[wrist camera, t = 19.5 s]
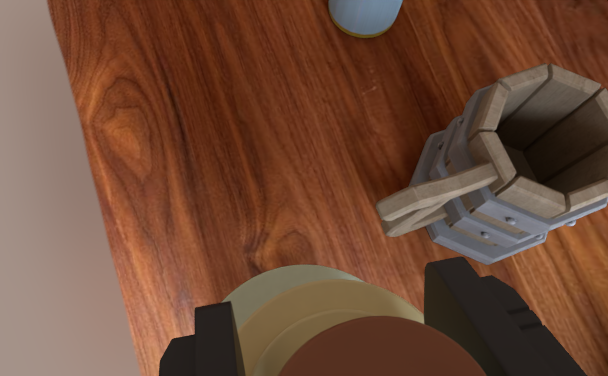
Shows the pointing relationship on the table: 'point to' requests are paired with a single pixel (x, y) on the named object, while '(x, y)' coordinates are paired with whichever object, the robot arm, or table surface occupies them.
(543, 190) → the tankard
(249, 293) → the green stand
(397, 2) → the bottle
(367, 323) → the cream bottle
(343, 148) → the table surface
